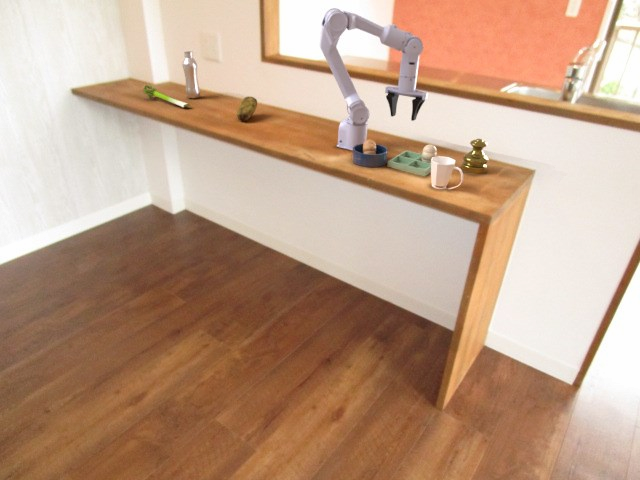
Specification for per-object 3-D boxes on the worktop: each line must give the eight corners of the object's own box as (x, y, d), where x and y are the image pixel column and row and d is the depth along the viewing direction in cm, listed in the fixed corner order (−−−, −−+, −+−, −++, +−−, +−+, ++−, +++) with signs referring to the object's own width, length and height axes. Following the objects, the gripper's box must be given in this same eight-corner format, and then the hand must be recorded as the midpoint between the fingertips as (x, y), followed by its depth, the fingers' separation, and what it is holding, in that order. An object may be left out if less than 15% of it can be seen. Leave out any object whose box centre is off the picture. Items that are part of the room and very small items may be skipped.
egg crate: (387, 167, 144) (387, 160, 142) (405, 156, 153) (406, 150, 152) (424, 177, 137) (425, 170, 136) (441, 165, 146) (442, 158, 145)
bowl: (345, 163, 146) (346, 149, 144) (363, 154, 154) (364, 140, 151) (375, 171, 140) (377, 157, 138) (392, 161, 148) (394, 148, 146)
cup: (433, 180, 136) (437, 154, 132) (465, 189, 130) (470, 162, 126) (421, 187, 131) (425, 160, 127) (454, 197, 126) (459, 169, 122)
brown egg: (360, 158, 146) (360, 138, 147) (366, 162, 149) (366, 143, 151) (373, 156, 144) (372, 136, 145) (378, 160, 147) (378, 140, 148)
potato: (228, 120, 183) (227, 100, 179) (248, 113, 193) (247, 94, 189) (245, 123, 180) (244, 103, 176) (264, 116, 190) (263, 96, 186)
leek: (180, 114, 195) (139, 96, 210) (193, 113, 200) (152, 96, 215) (181, 100, 192) (139, 83, 207) (194, 99, 198) (152, 82, 212)
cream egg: (418, 165, 145) (421, 144, 142) (424, 161, 148) (427, 141, 145) (431, 168, 143) (434, 147, 140) (436, 164, 146) (439, 144, 143)
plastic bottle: (203, 97, 214) (199, 51, 204) (193, 100, 209) (188, 53, 199) (194, 95, 217) (188, 50, 207) (183, 98, 212) (177, 52, 202)
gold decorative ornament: (489, 170, 144) (496, 139, 139) (478, 177, 139) (485, 145, 134) (467, 164, 148) (473, 134, 143) (456, 170, 143) (462, 139, 138)
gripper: (434, 77, 148) (427, 119, 155) (393, 71, 155) (389, 111, 162) (425, 80, 143) (419, 123, 150) (383, 74, 150) (379, 115, 157)
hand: (403, 117), depth 155 cm, fingers open, 7 cm apart
